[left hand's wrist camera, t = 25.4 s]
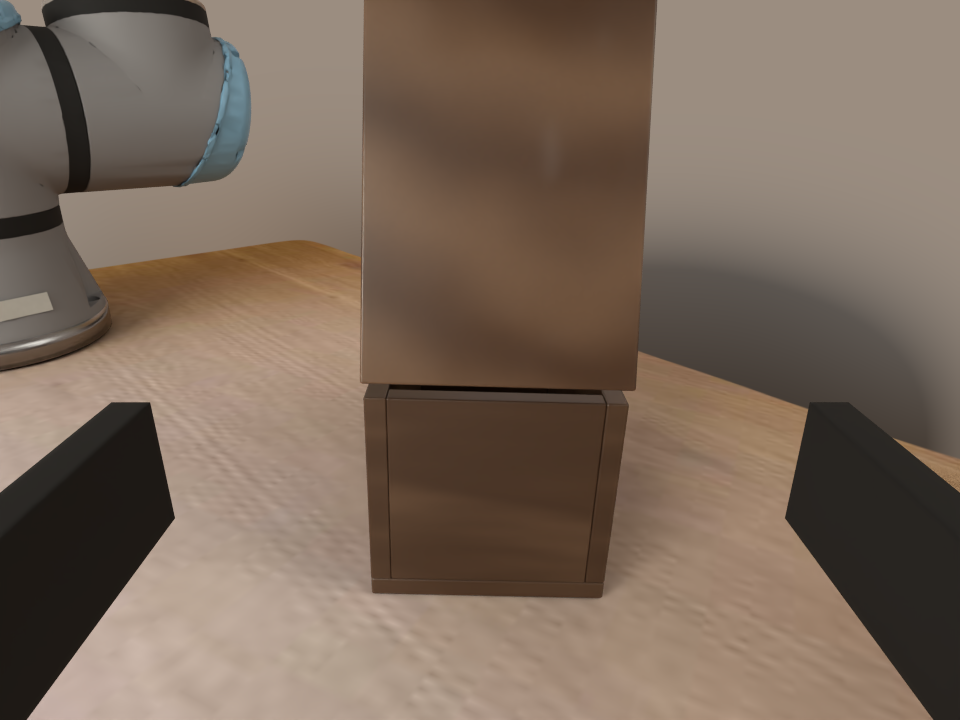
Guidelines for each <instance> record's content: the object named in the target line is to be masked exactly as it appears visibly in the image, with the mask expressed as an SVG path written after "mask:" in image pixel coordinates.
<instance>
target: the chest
mask: <svg viewBox="0 0 960 720" xmlns="http://www.w3.org/2000/svg"><path fill="white" fill-rule="evenodd" d="M628 408H629V405H628V403H627V401H626V399H625V397H624V394H623V392H622V391H620V390H583V389H546V388H509V387H472V386H436V385H399V384H369V385H368V387H367V390H366V393H365V396H364V420H365V443H366V466H367V489H368V512H369V534H370V557H371V577H372V592H373V593H395V594H443V595H490V596H537V597H585V598H601V597H602V593H603V586H604V583H603V582H604V579H605V572H606V564H607V557H608V550H609V543H610V536H611V529H612V522H613V515H614V507H615V500H616V493H617V486H618V479H619V472H620V465H621V458H622V450H623V443H624V436H625V429H626V422H627V415H628Z"/></svg>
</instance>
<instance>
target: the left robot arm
mask: <svg viewBox="0 0 960 720" xmlns="http://www.w3.org/2000/svg"><path fill="white" fill-rule="evenodd" d="M174 519H175V516H174V512H173V507H172V502H171V498H170V493H169V488H168V484H167V479H166V474H165V470H164V465H163V460H162V456H161V451H160V446H159V442H158V437H157V432H156V428H155V423H154V418H153V414H152V409H151V405H150V402H112V403H110V404H109V405H108V406H107V407H105V408H104V409H103V410H102V411H100V412H99V413H98V414H97V415H96V416H94V417H93V418H92V419H91V420H89V421H88V422H87V423H86V424H84V425H83V426H82V427H81V428H79V429H78V430H77V431H76V432H75V433H73V434H72V435H71V436H70V437H68V438H67V439H66V440H65V441H63V442H62V443H61V444H60V445H59V446H57V447H56V448H55V449H54V450H52V451H51V452H50V453H49V454H47V455H46V456H45V457H44V458H43V459H41V460H40V461H39V462H38V463H36V464H35V465H34V466H33V467H31V468H30V469H29V470H28V471H26V472H25V473H24V474H23V475H22V476H20V477H19V478H18V479H17V480H15V481H14V482H13V483H12V484H10V485H9V486H8V487H7V488H6V489H4V490H3V491H2V492H1V493H0V720H27V718H28V717H29V716H30V714H31V713H32V712H33V710H34V709H35V708H36V706H37V705H38V704H39V702H40V701H41V699H42V698H43V697H44V695H45V694H46V693H47V691H48V690H49V689H50V687H51V686H52V685H53V683H54V682H55V680H56V679H57V678H58V676H59V675H60V674H61V672H62V671H63V670H64V668H65V667H66V665H67V664H68V663H69V661H70V660H71V659H72V657H73V656H74V655H75V653H76V652H77V651H78V649H79V648H80V646H81V645H82V644H83V642H84V641H85V640H86V638H87V637H88V636H89V634H90V633H91V632H92V630H93V629H94V627H95V626H96V625H97V623H98V622H99V621H100V619H101V618H102V617H103V615H104V614H105V612H106V611H107V610H108V608H109V607H110V606H111V604H112V603H113V602H114V600H115V599H116V598H117V596H118V595H119V593H120V592H121V591H122V589H123V588H124V587H125V585H126V584H127V583H128V581H129V580H130V579H131V577H132V576H133V574H134V573H135V572H136V570H137V569H138V568H139V566H140V565H141V564H142V562H143V561H144V559H145V558H146V557H147V555H148V554H149V553H150V551H151V550H152V549H153V547H154V546H155V545H156V543H157V542H158V540H159V539H160V538H161V536H162V535H163V534H164V532H165V531H166V530H167V528H168V527H169V526H170V524H171V523H172V521H173V520H174ZM785 519H786V520H787V521H788V523H789V524H790V526H791V527H792V528H793V530H794V531H795V532H796V534H797V535H798V536H799V538H800V539H801V540H802V542H803V543H804V545H805V546H806V547H807V549H808V550H809V551H810V553H811V554H812V555H813V557H814V558H815V559H816V561H817V562H818V564H819V565H820V566H821V568H822V569H823V570H824V572H825V573H826V574H827V576H828V577H829V579H830V580H831V581H832V583H833V584H834V585H835V587H836V588H837V589H838V591H839V592H840V593H841V595H842V596H843V598H844V599H845V600H846V602H847V603H848V604H849V606H850V607H851V608H852V610H853V611H854V612H855V614H856V615H857V617H858V618H859V619H860V621H861V622H862V623H863V625H864V626H865V627H866V629H867V630H868V632H869V633H870V634H871V636H872V637H873V638H874V640H875V641H876V642H877V644H878V645H879V646H880V648H881V649H882V651H883V652H884V653H885V655H886V656H887V657H888V659H889V660H890V661H891V663H892V664H893V665H894V667H895V668H896V670H897V671H898V672H899V674H900V675H901V676H902V678H903V679H904V680H905V682H906V683H907V685H908V686H909V687H910V689H911V690H912V691H913V693H914V694H915V695H916V697H917V698H918V699H919V701H920V702H921V704H922V705H923V706H924V708H925V709H926V710H927V712H928V713H929V714H930V716H931V717H932V718H933V720H960V493H959V492H958V491H957V490H956V489H954V488H953V487H952V486H951V485H950V484H948V483H947V482H946V481H945V480H943V479H942V478H941V477H940V476H938V475H937V474H936V473H935V472H934V471H932V470H931V469H930V468H929V467H927V466H926V465H925V464H924V463H922V462H921V461H920V460H919V459H917V458H916V457H915V456H914V455H913V454H911V453H910V452H909V451H908V450H906V449H905V448H904V447H903V446H901V445H900V444H899V443H898V442H897V441H895V440H894V439H893V438H892V437H890V436H889V435H888V434H887V433H885V432H884V431H883V430H882V429H880V428H879V427H878V426H877V425H876V424H874V423H873V422H872V421H871V420H869V419H868V418H867V417H866V416H864V415H863V414H862V413H861V412H860V411H858V410H857V409H856V408H855V407H853V406H852V405H851V404H850V403H847V402H839V403H838V402H831V403H830V402H829V403H827V402H823V403H822V402H817V403H816V402H813V403H811V402H810V405H809V409H808V414H807V418H806V423H805V428H804V432H803V437H802V442H801V446H800V451H799V456H798V460H797V465H796V470H795V474H794V479H793V484H792V488H791V493H790V498H789V502H788V507H787V512H786V516H785Z"/></svg>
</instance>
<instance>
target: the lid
mask: <svg viewBox="0 0 960 720" xmlns="http://www.w3.org/2000/svg"><path fill="white" fill-rule="evenodd" d="M656 12H657V0H364V51H363V146H362V243H361V338H360V382H361V383H362V384H399V385H436V386H472V387H509V388H546V389H583V390H620V391H634V390H635V389H636V374H637V356H638V338H639V319H640V302H641V283H642V266H643V247H644V229H645V211H646V193H647V175H648V157H649V139H650V120H651V103H652V84H653V67H654V49H655V30H656Z"/></svg>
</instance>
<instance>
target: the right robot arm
mask: <svg viewBox="0 0 960 720" xmlns="http://www.w3.org/2000/svg"><path fill="white" fill-rule="evenodd" d="M41 7H42V13H43V17H44V21H45V25H46V27H38V26H25V25H20V22H21V16H20V15H19V14H18V13H17V11H16V10H15V8H14V6H13V5H12V4H11V3H10V2H8V1H6V0H0V370H5V369H11V368H16V367H21V366H25V365H29V364H33V363H38V362H41V361H45V360H48V359H52V358H55V357H58V356H61V355H64V354H67V353H70V352H72V351H75V350H77V349H80V348H82V347H84V346H86V345H88V344H90V343H92V342H94V341H95V340H97V339H99V338H100V337H101V336H103V335H104V334H105V333H106V332H107V331H108V330H109V328H110V327H111V324H112V321H111V316H110V311H109V307H108V302H107V299H106V297H105V296H104V294H103V293H102V291H101V289H100V288H99V286H98V284H97V283H96V281H95V280H94V278H93V276H92V275H91V273H90V271H89V270H88V268H87V267H86V265H85V263H84V262H83V260H82V258H81V257H80V255H79V254H78V252H77V250H76V249H75V247H74V245H73V244H72V242H71V240H70V239H69V237H68V235H67V233H66V231H65V227H64V223H63V219H62V215H61V210H60V206H59V198H58V195H59V194H63V193H75V192H91V191H105V190H119V189H133V188H147V187H161V186H173V187H182V186H187V185H189V184H192V183H201V182H209V181H216V180H219V179H222V178H224V177H226V176H227V175H229V174H230V173H231V172H232V171H233V170H234V169H235V168H236V167H237V165H238V164H239V162H240V160H241V158H242V156H243V153H244V149H245V146H246V145H247V141H248V136H249V130H250V122H251V95H250V86H249V80H248V75H247V72H246V68H245V66H244V63H243V61H242V60H241V59H240V58H239V53H238V51H237V50H236V48H235V47H234V46H233V45H232V44H230V43H229V42H227V41H224V40H223V39H221V38H218V37H211V34H210V30H209V24H208V19H207V14H206V9H205V7H204V5H203V4H202V3H201V2H199V1H198V0H43V2H42V3H41Z"/></svg>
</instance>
